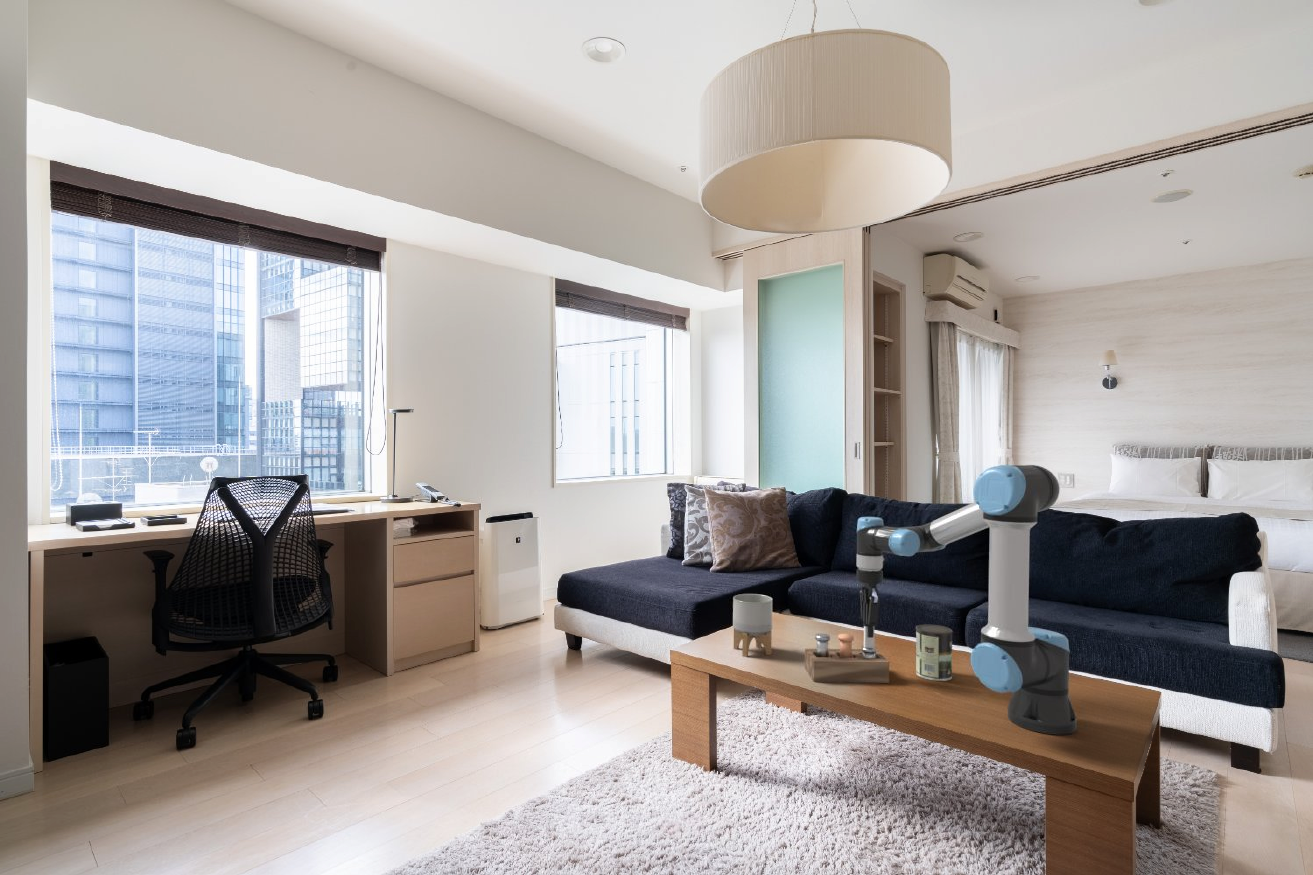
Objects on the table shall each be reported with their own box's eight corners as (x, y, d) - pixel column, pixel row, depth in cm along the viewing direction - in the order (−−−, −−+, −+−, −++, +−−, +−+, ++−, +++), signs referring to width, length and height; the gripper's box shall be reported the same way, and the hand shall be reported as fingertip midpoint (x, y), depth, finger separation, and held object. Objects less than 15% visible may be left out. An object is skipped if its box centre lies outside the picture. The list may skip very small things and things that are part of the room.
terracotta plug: (855, 662, 199) (855, 638, 200) (840, 662, 200) (840, 637, 200) (850, 657, 204) (851, 633, 204) (836, 657, 204) (836, 633, 204)
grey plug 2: (878, 674, 199) (878, 650, 200) (863, 674, 199) (864, 649, 200) (873, 669, 204) (874, 645, 204) (859, 669, 204) (859, 645, 204)
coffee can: (947, 670, 206) (948, 625, 207) (955, 682, 196) (956, 634, 196) (912, 668, 208) (913, 622, 209) (918, 679, 198) (919, 632, 198)
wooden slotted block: (889, 682, 196) (889, 661, 196) (813, 681, 196) (813, 661, 196) (875, 668, 208) (875, 649, 208) (804, 667, 208) (804, 648, 208)
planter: (742, 643, 233) (742, 592, 233) (777, 649, 226) (778, 596, 226) (726, 653, 221) (726, 599, 222) (763, 660, 215) (763, 604, 215)
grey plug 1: (831, 662, 200) (831, 637, 200) (816, 662, 200) (817, 637, 200) (827, 657, 204) (828, 633, 204) (813, 657, 204) (813, 633, 204)
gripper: (889, 573, 195) (888, 654, 195) (875, 564, 208) (874, 640, 208) (863, 572, 195) (863, 653, 195) (851, 564, 208) (850, 640, 208)
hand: (868, 646), depth 202 cm, fingers closed
